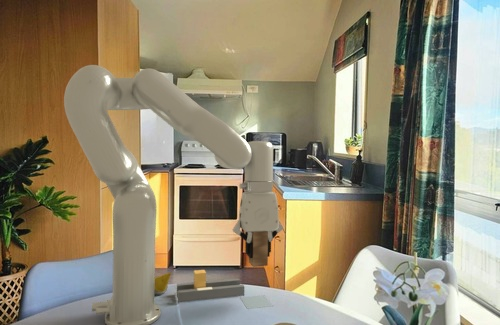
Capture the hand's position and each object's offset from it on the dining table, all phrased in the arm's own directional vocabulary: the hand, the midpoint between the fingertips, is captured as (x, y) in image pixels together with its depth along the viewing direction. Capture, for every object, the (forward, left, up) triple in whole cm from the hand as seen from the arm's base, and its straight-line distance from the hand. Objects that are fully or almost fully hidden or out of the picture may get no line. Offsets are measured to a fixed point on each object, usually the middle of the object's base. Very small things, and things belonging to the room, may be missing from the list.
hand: (258, 255), depth 88 cm
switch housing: (-11, +8, -13) cm, 19 cm away
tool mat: (0, 0, -13) cm, 13 cm away
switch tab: (-14, +8, -11) cm, 20 cm away
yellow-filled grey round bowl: (-24, +13, -13) cm, 31 cm away
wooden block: (0, 0, -2) cm, 2 cm away
